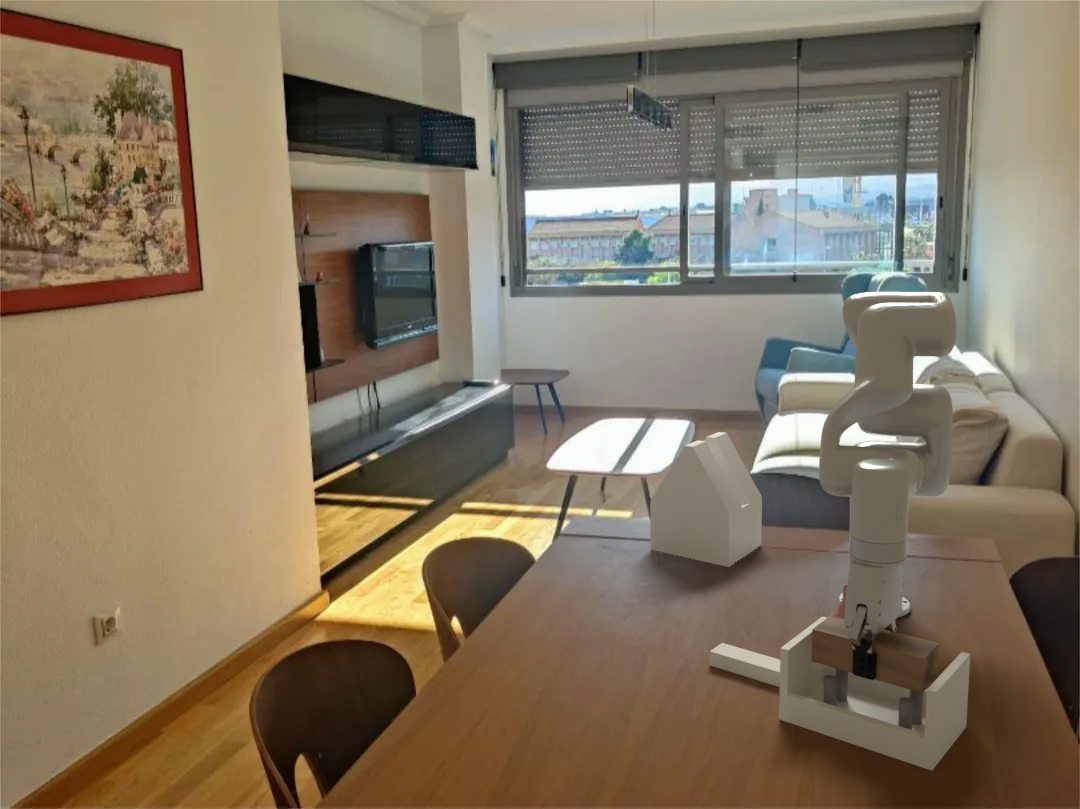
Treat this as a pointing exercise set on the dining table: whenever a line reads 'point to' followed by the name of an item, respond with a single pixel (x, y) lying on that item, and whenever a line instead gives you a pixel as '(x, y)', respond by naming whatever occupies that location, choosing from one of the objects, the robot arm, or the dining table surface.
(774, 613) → the dining table surface
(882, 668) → the brown wooden block
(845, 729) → the stand
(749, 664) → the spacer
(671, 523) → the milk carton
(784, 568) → the dining table surface
